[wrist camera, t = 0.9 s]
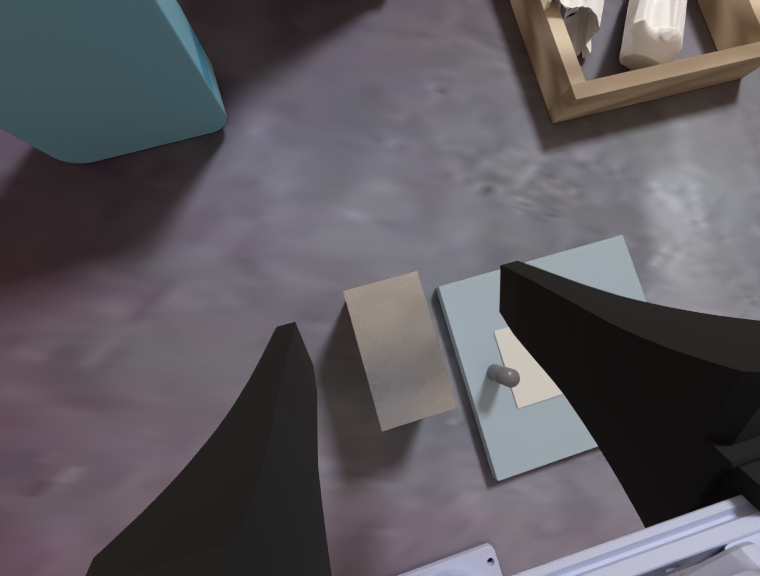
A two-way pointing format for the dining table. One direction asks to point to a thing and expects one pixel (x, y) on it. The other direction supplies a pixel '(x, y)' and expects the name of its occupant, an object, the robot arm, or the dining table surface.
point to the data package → (103, 77)
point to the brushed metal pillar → (399, 350)
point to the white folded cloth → (631, 29)
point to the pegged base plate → (525, 361)
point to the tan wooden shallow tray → (581, 98)
